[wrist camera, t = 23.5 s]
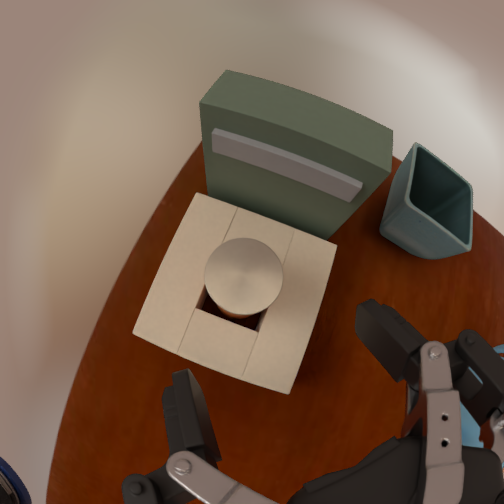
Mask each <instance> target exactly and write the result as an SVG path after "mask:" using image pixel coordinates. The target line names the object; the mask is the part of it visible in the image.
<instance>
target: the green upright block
mask: <svg viewBox="0 0 504 504" xmlns="http://www.w3.org/2000/svg"><path fill="white" fill-rule="evenodd" d="M199 107H200V118H201V130H202V141H203V151H204V161H205V171H206V180H207V189H208V196H209V197H212V198H215V199H217V200H220V201H223V202H226V203H229V204H231V205H234V206H237V207H240V208H243V209H245V210H248V211H251V212H254V213H256V214H259V215H262V216H264V217H267V218H270V219H272V220H275V221H277V222H280V223H283V224H285V225H288V226H290V227H293V228H295V229H298V230H301V231H303V232H306V233H308V234H311V235H313V236H316V237H318V238H321V239H323V240H326V241H327V240H328V239H329V238H330V237H331V236H332V235H333V234H334V233H335V232H336V231H337V230H338V229H339V228H340V226H341V225H342V224H343V223H344V222H345V221H346V220H347V219H348V218H349V217H350V216H351V215H352V214H353V213H354V212H355V211H356V210H357V209H358V208H359V207H360V206H361V205H362V204H363V203H364V201H365V200H366V199H367V198H368V197H369V196H370V195H371V194H372V193H373V192H374V191H375V190H376V189H377V188H378V186H379V185H380V184H381V183H382V182H383V181H384V180H385V179H386V178H387V177H388V176H389V174H390V173H391V166H392V149H393V148H392V147H393V130H391V129H389V128H387V127H385V126H383V125H381V124H379V123H377V122H375V121H373V120H371V119H369V118H367V117H365V116H363V115H361V114H358V113H356V112H354V111H352V110H349V109H347V108H345V107H343V106H340V105H338V104H335V103H333V102H330V101H328V100H325V99H323V98H320V97H318V96H315V95H312V94H309V93H307V92H304V91H301V90H298V89H295V88H292V87H289V86H285V85H283V84H279V83H276V82H273V81H269V80H266V79H262V78H259V77H255V76H251V75H247V74H243V73H238V72H234V71H230V70H226V71H225V72H224V73H223V74H222V75H221V76H220V77H219V79H218V80H217V81H216V82H215V83H214V85H213V86H212V87H211V88H210V89H209V91H208V92H207V93H206V94H205V96H204V97H203V98H202V99H201V101H200V102H199Z"/></svg>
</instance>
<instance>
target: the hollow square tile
mask: <svg viewBox="0 0 504 504" xmlns="http://www.w3.org/2000/svg"><path fill="white" fill-rule="evenodd" d="M236 238H251V239H255V240H258V241H260V242H263V243H264V244H266V245H267V246H269V247H270V248H271V249H272V250H273V251H274V252H275V254H276V255H277V256H278V258H279V260H280V262H281V265H282V269H283V285H282V289H281V291H280V294H279V295H278V297H277V299H276V300H275V301H274V302H273V303H272V304H271V305H270V306H269V307H268V308H266V309H265V310H263V311H262V313H261V315H260V318H259V321H258V323H257V326H256V329H255V331H254V330H251V329H248V328H246V327H243V326H240V325H238V324H235V323H232V322H230V321H227V320H225V319H222V318H220V317H217V316H215V315H212V314H210V313H207V312H205V311H202V310H201V309H202V307H203V304H204V302H205V300H206V297H207V295H208V291H207V288H206V285H205V278H204V274H205V267H206V264H207V261H208V259H209V257H210V255H211V254H212V252H213V251H214V250H215V249H216V248H217V247H218V246H220V245H221V244H223V243H224V242H226V241H229V240H232V239H236ZM336 249H337V245H335V244H333V243H330V242H328V241H326V240H323V239H321V238H318V237H316V236H313V235H311V234H308V233H306V232H303V231H301V230H298V229H295V228H293V227H290V226H288V225H285V224H283V223H280V222H277V221H275V220H272V219H270V218H267V217H264V216H262V215H259V214H256V213H254V212H251V211H248V210H245V209H243V208H240V207H237V206H234V205H231V204H229V203H226V202H223V201H220V200H217V199H215V198H212V197H209V196H206V195H203V194H200V193H196V194H195V196H194V198H193V200H192V202H191V204H190V206H189V208H188V210H187V212H186V214H185V216H184V218H183V220H182V222H181V224H180V226H179V228H178V230H177V232H176V234H175V236H174V238H173V240H172V242H171V244H170V246H169V248H168V251H167V253H166V255H165V257H164V259H163V261H162V264H161V266H160V268H159V270H158V273H157V275H156V277H155V279H154V282H153V284H152V286H151V289H150V291H149V293H148V296H147V298H146V300H145V303H144V305H143V308H142V310H141V312H140V315H139V317H138V320H137V322H136V325H135V328H134V330H133V334H135V335H137V336H139V337H141V338H143V339H145V340H147V341H149V342H151V343H153V344H155V345H157V346H159V347H161V348H163V349H166V350H168V351H170V352H172V353H174V354H177V355H179V356H181V357H183V358H186V359H188V360H191V361H193V362H195V363H198V364H200V365H203V366H205V367H208V368H210V369H213V370H215V371H218V372H221V373H223V374H226V375H229V376H232V377H234V378H237V379H241V380H243V381H246V382H249V383H252V384H255V385H258V386H261V387H264V388H268V389H271V390H274V391H278V392H281V393H285V394H289V393H290V391H291V388H292V385H293V383H294V380H295V378H296V375H297V372H298V370H299V367H300V364H301V361H302V359H303V356H304V353H305V350H306V347H307V345H308V342H309V339H310V336H311V333H312V330H313V327H314V324H315V321H316V318H317V314H318V311H319V308H320V305H321V302H322V298H323V295H324V292H325V288H326V285H327V281H328V278H329V274H330V271H331V267H332V264H333V260H334V256H335V252H336Z"/></svg>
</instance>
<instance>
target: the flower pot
mask: <svg viewBox="0 0 504 504" xmlns="http://www.w3.org/2000/svg"><path fill="white" fill-rule="evenodd" d="M472 225H473V189H472V186H471V185H470V184H469V183H468V182H467V181H466V180H465V179H464V178H463V177H462V176H460V175H459V174H458V173H457V172H456V171H454V170H453V169H452V168H451V167H449V166H448V165H447V164H446V163H444V162H443V161H442V160H440V159H439V158H438V157H437V156H435V155H434V154H433V153H431V152H430V151H429V150H427V149H426V148H425V147H423V146H422V145H420V144H418V143H414V144H413V146H412V148H411V149H410V151H409V152H408V154H407V156H406V157H405V159H404V160H403V162H402V163H401V165H400V167H399V168H398V170H397V172H396V174H395V176H394V178H393V181H392V184H391V187H390V191H389V195H388V199H387V203H386V207H385V210H384V214H383V217H382V221H381V224H380V228H379V231H380V234H381V235H382V236H383V237H385V238H387V239H388V240H390V241H392V242H393V243H395V244H396V245H398V246H399V247H401V248H402V249H404V250H405V251H407V252H408V253H410V254H412V255H415V256H417V257H421V258H425V259H441V258H445V257H449V256H453V255H457V254H460V253H464V252H467V251H470V250H471V246H472Z"/></svg>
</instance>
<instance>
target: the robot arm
mask: <svg viewBox="0 0 504 504" xmlns="http://www.w3.org/2000/svg"><path fill="white" fill-rule="evenodd" d="M355 331H356V334H357V336H358V338H359V339H360V340H361V341H362V342H363V343H364V345H365V346H366V347H367V348H368V349H369V350H370V352H371V353H372V354H373V355H374V356H375V357H376V359H377V360H378V361H379V362H380V363H381V365H382V366H383V367H384V368H385V369H386V370H387V372H388V373H389V374H390V375H391V376H392V378H393V379H394V380H395V381H396V382H397V383H398V382H399V381H401V380H402V379H405V380H406V381H407V382H406V404H405V419H404V423H403V426H402V430H401V438H399V439H396V437H395V436H393V437H392V438H390V439H389V440H387V441H386V442H384V443H383V444H381V445H379V446H378V447H376V448H375V449H373V450H372V451H371V452H370V453H369V454H368V455H367V456H366V457H365V458H364V459H363V460H362V461H361V462H359V463H358V464H357V465H356V466H354V467H351V468H348V469H344V470H340V471H336V472H332V473H327V474H325V475H323V476H321V477H319V478H316V479H314V480H312V481H309V482H307V483H304V484H303V488H302V489H300V490H299V491H297V492H296V493H295V494H294V495H293V496H292V497H291V498H290V499H289V501H288V502H287V503H286V504H504V479H503V472H502V463H503V462H504V360H503V359H502V358H501V356H500V355H499V354H498V353H497V352H496V351H495V350H494V349H493V348H492V347H491V346H490V345H489V344H488V343H487V342H486V341H485V340H484V339H483V338H482V337H481V336H480V335H479V334H478V333H477V332H475V331H473V330H470V329H467V330H463V331H462V332H461V333H460V334H459V336H458V338H457V340H454V341H451V342H448V343H445V344H442V343H440V342H437V341H430V342H429V341H428V340H426V339H425V338H424V337H423V336H422V335H421V334H420V333H419V332H418V331H417V330H416V329H415V328H414V327H413V326H412V325H411V324H410V323H409V322H406V320H405V319H404V318H403V317H402V316H400V314H399V313H398V312H397V311H396V310H395V309H393V308H391V307H389V306H387V305H385V304H383V305H379V304H378V303H377V302H376V301H375V300H374V299H369V300H367V301H365V302H363V303H361V304H359V305H357V310H356V320H355ZM469 366H470V368H471V369H472V370H473V371H474V372H475V373H476V374H477V376H478V377H479V378H480V379H481V381H482V383H481V382H480V381H479V380H478V379H477V378H476V376H475V375H474V374H473V373H472V372H471V371H470V369H469ZM172 379H173V386H169V387H165V390H164V393H163V396H162V404H163V409H164V418H165V425H166V431H167V438H168V443H169V449H170V454H169V458H168V460H167V462H166V463H165V464H164V465H163V466H162V467H161V468H159V469H157V470H155V471H153V472H151V473H149V474H147V475H145V476H144V475H141V474H131V475H129V476H127V477H126V478H125V479H124V481H123V483H122V493H123V498H124V503H125V504H186V503H188V502H190V501H192V500H194V499H196V498H198V499H199V500H201V501H202V502H203V503H205V504H279V503H277V502H274V501H272V500H270V499H268V498H266V497H264V496H262V495H261V494H259V493H257V492H255V491H253V490H251V489H249V488H248V487H246V486H244V485H242V484H240V483H238V482H237V481H235V480H233V479H232V478H230V477H228V476H227V475H225V474H223V473H222V472H220V471H219V470H218V467H217V464H216V462H218V461H222V458H221V454H220V451H219V448H218V445H217V441H216V438H215V434H214V431H213V427H212V424H211V420H210V417H209V413H208V409H207V405H206V402H205V398H204V395H203V392H202V390H201V388H200V386H199V384H198V382H197V381H196V379H195V378H194V376H193V374H192V373H191V371H190V370H189V369H185V370H181V371H178V372H174V373H172ZM460 402H461V403H462V404H463V406H464V407H465V408H466V410H467V411H468V412H469V413H470V415H471V416H472V417H473V419H474V420H475V421H476V423H477V424H478V425H479V427H480V435H479V441H480V442H482V443H483V448H479V447H471V446H464V445H462V430H461V408H460ZM0 504H21V500H20V497H19V494H18V492H17V490H16V489H15V487H14V486H13V484H12V483H11V481H10V480H9V478H8V477H7V476H6V475H5V474H4V472H3V471H2V470H1V469H0Z"/></svg>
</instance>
